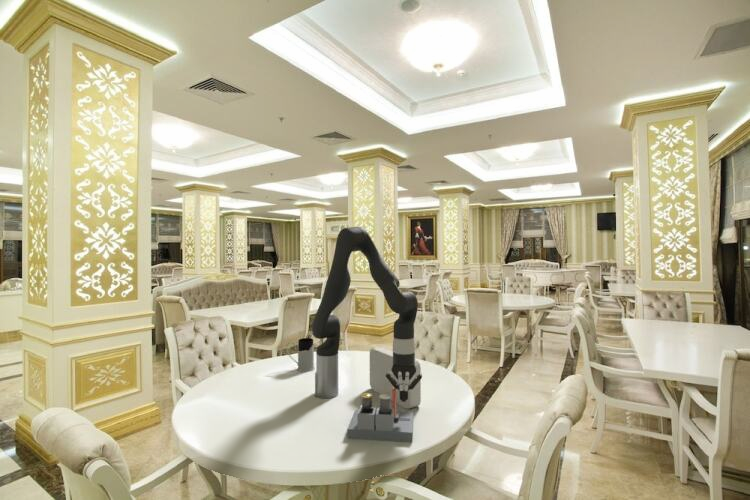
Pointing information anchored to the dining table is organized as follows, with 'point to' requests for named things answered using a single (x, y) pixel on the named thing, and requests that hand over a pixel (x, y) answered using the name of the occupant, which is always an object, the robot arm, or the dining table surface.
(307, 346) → the grey mug
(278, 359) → the dining table surface
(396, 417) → the red lever
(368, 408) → the brass button
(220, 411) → the dining table surface
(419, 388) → the rounded white slab
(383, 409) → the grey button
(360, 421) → the console
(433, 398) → the dining table surface
